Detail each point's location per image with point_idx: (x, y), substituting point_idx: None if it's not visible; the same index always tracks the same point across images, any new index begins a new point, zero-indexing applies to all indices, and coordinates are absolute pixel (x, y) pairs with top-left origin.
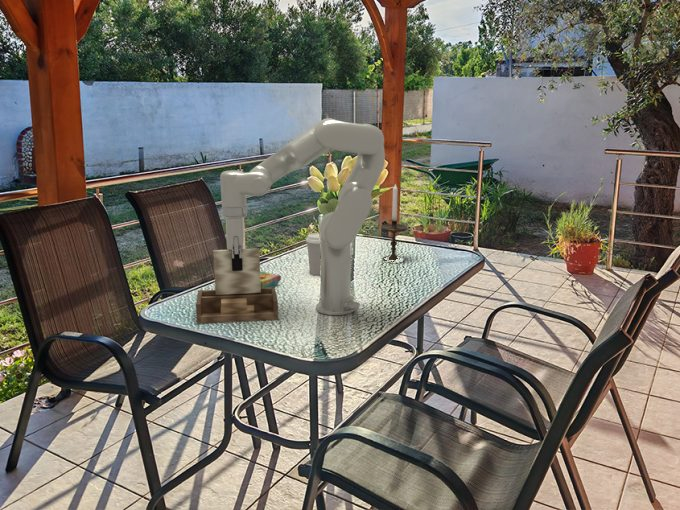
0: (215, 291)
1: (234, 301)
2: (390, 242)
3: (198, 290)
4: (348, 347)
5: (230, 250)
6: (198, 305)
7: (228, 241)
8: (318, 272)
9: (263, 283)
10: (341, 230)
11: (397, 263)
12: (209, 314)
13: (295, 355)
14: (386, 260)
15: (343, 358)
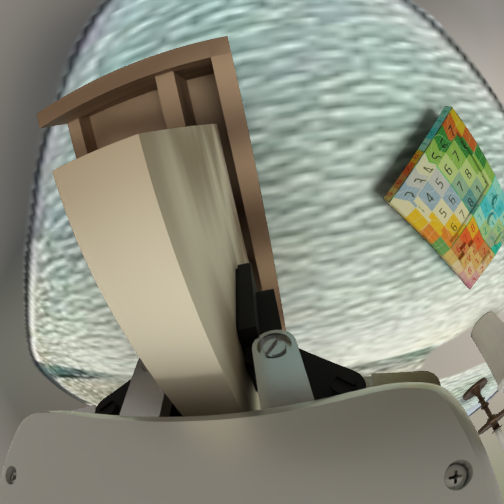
0: (225, 120)
1: None
2: (487, 403)
3: (223, 37)
4: (95, 399)
5: (183, 399)
6: (40, 121)
7: (2, 490)
8: (475, 333)
9: (439, 254)
10: None
11: (463, 395)
12: (161, 113)
13: (36, 344)
14: (475, 386)
15: (62, 389)
